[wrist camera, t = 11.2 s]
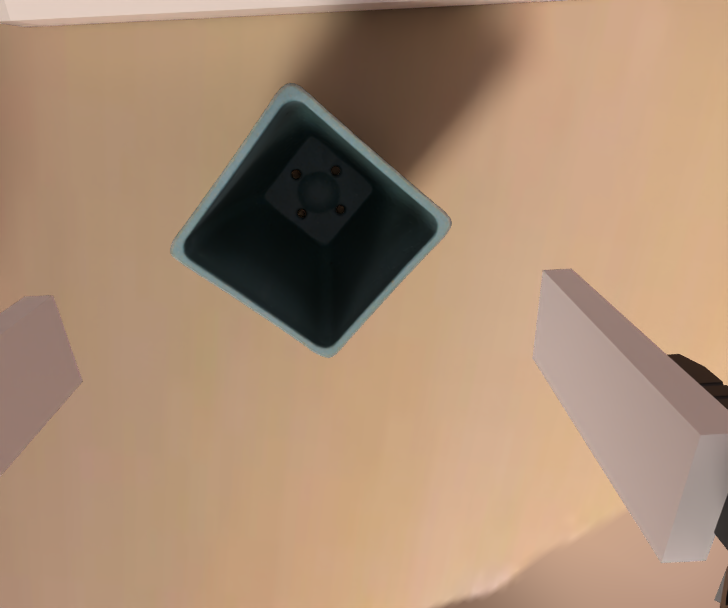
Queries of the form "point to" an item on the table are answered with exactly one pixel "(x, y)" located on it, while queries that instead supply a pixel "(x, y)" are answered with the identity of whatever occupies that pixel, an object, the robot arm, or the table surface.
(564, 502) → the table surface
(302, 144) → the flower pot
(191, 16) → the white tray
